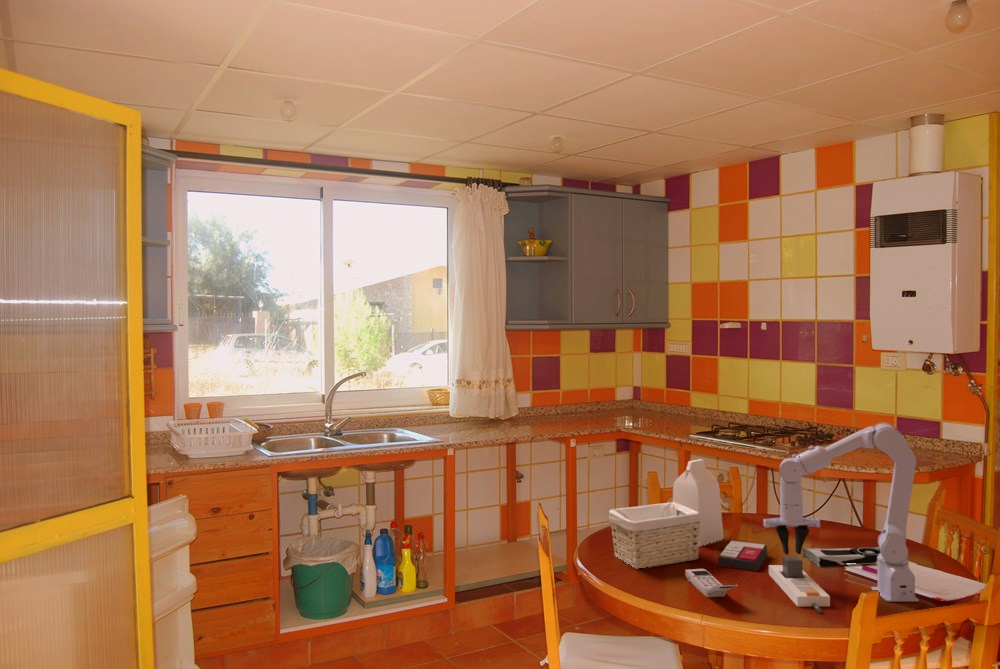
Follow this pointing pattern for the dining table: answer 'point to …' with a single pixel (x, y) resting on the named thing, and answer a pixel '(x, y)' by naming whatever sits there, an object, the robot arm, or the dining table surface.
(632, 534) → the storage basket
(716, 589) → the mobile phone
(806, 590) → the power strip
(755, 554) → the dark grey box
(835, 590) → the dining table surface
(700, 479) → the milk
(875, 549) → the graphics card
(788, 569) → the plug
